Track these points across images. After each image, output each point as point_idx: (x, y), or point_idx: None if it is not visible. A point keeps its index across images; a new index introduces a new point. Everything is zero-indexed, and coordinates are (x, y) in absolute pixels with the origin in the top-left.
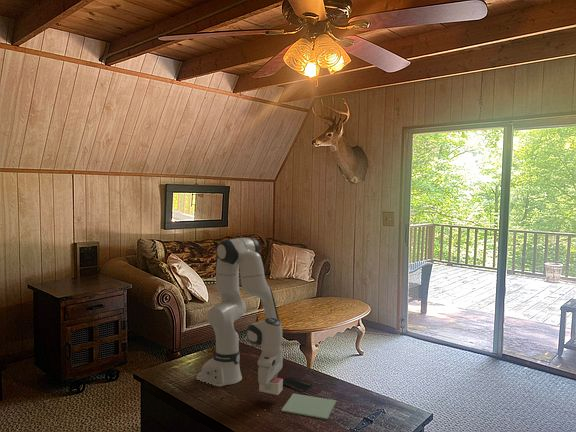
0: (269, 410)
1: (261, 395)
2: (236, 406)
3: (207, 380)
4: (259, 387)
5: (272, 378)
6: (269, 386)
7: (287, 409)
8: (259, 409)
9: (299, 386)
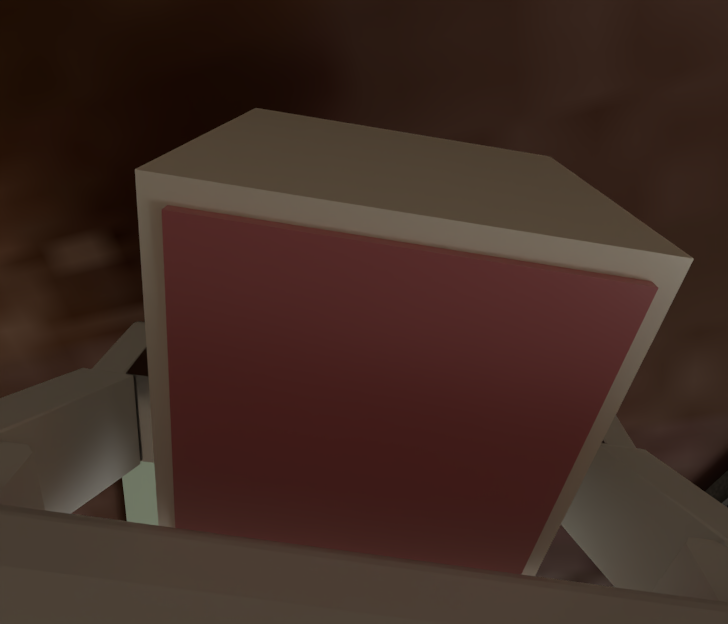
0: (85, 312)
1: (499, 79)
2: None
3: None
4: (232, 128)
5: (409, 554)
6: (136, 451)
7: (155, 499)
8: (45, 175)
9: None
